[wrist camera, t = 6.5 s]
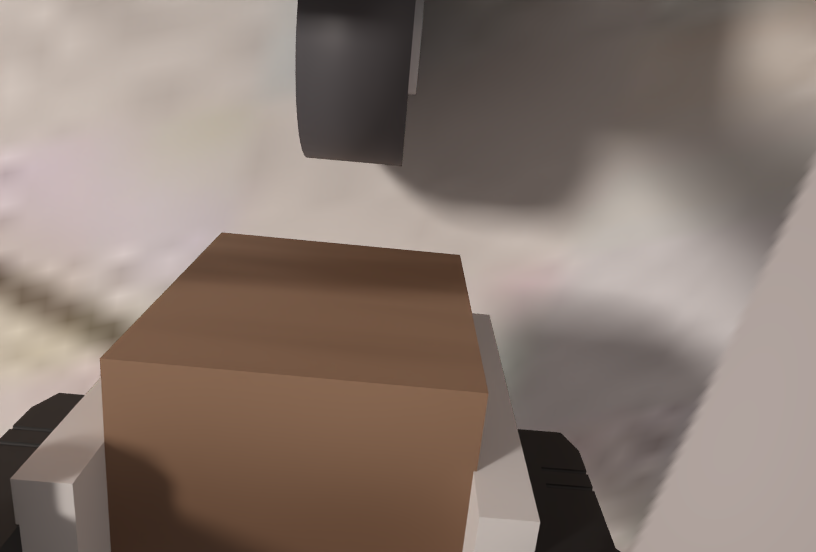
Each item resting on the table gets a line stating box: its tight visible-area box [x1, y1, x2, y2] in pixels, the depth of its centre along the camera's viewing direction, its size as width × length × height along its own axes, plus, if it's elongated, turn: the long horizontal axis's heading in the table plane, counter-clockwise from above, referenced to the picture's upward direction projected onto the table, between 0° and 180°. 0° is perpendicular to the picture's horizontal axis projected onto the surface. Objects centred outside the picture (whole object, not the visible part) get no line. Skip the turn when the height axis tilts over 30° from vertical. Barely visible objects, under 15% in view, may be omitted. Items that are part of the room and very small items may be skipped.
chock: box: [100, 233, 489, 552], centre depth 13 cm, size 6×5×6 cm
